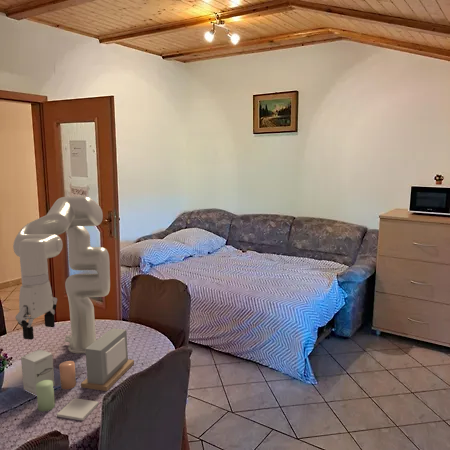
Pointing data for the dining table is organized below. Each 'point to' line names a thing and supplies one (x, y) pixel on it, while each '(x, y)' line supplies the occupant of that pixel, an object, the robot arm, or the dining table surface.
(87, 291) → the robot arm
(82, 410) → the grey pad
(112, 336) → the box
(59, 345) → the dining table surface
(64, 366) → the terracotta part
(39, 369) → the supplement box
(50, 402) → the sage part
